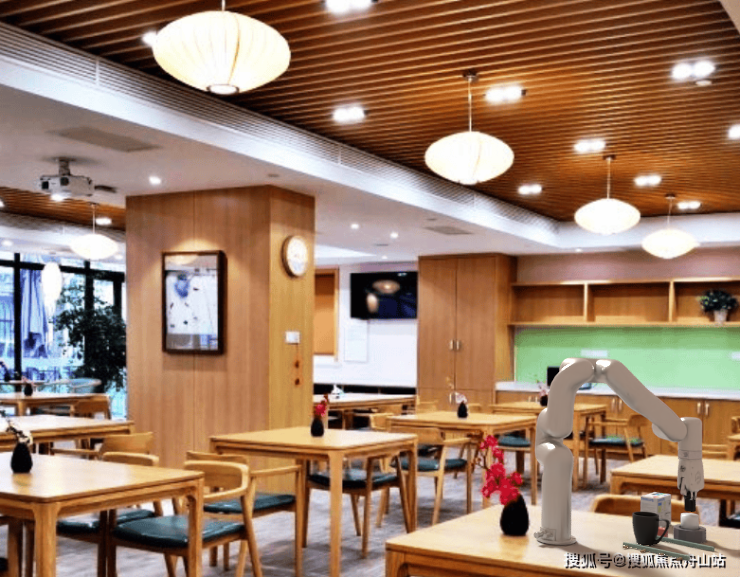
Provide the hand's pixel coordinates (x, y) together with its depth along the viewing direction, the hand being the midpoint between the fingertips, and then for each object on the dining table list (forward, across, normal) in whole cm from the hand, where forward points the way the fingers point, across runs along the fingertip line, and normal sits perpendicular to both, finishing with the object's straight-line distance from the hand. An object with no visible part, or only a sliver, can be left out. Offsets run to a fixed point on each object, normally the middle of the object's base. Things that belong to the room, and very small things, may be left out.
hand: (690, 511), depth 295 cm
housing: (+9, 0, 0) cm, 9 cm away
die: (+9, -4, +8) cm, 13 cm away
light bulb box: (+10, +10, +18) cm, 23 cm away
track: (+9, -18, -1) cm, 20 cm away
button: (+6, 0, 0) cm, 6 cm away
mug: (+10, -16, +5) cm, 19 cm away
